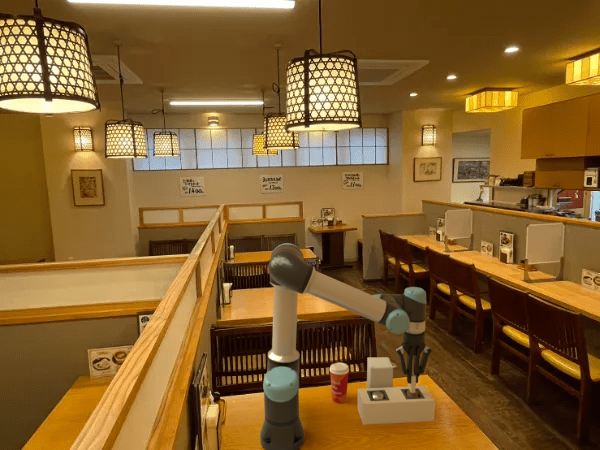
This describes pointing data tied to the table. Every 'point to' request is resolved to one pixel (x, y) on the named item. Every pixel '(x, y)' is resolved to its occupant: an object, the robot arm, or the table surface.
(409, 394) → the walnut peg
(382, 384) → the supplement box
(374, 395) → the metal peg
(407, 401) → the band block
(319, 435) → the table surface
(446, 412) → the table surface
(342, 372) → the paper cup
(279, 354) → the robot arm
